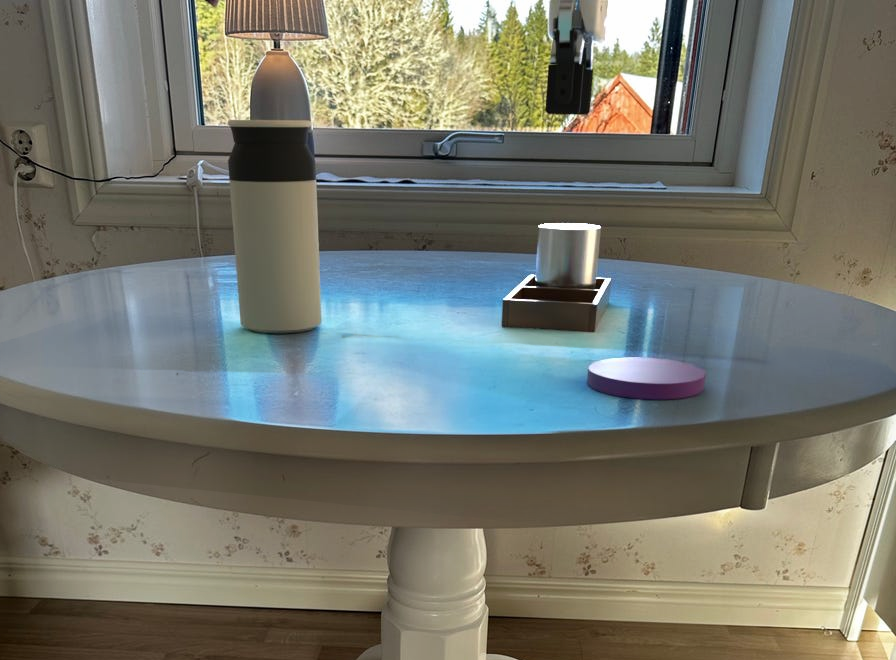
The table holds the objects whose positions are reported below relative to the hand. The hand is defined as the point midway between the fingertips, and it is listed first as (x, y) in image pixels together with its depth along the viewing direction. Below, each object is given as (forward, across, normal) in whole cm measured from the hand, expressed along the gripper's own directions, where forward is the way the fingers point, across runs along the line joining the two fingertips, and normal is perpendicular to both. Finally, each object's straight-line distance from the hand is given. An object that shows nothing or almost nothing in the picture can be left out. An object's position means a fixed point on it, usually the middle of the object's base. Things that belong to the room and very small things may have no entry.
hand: (568, 114), depth 94 cm
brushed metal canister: (+18, 0, -1) cm, 18 cm away
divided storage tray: (+19, -4, -1) cm, 19 cm away
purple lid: (+19, -30, -11) cm, 37 cm away
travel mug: (+19, -16, +25) cm, 35 cm away
